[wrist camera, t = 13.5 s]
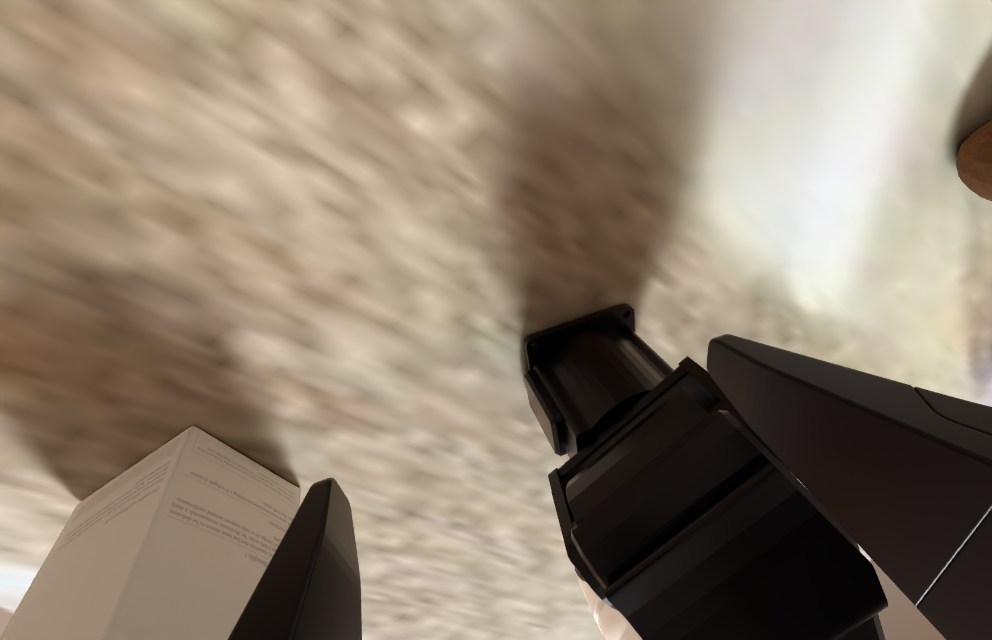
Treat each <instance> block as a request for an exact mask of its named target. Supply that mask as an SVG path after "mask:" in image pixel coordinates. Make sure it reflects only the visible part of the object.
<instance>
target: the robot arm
mask: <svg viewBox="0 0 992 640" xmlns="http://www.w3.org/2000/svg"><path fill="white" fill-rule="evenodd" d="M625 311H626V313H625V314H624V315H623V313H624V312H625ZM534 342H537V343H536V344H535V345H533V346H531V344H532V343H534ZM524 348H525V353H526V358H527V363H528V368H529V371H526V373H525V375H524V378H525V383H526V388H527V393H528V398H529V403H530V406H531V408H532V410H533V412H534V414H535V416H536V418H537V420H538V422H539V423H540V425H541V427H542V429H543V431H544V433H545V435H546V437H547V439H548V441H549V442H550V444H551V446H552V448H553V450H554V452H555V454H558V455H560V456H562V455H565V454H568V456H569V457H570V459H569V460H568V461H567V462H566V463H565V464H564V465H562V466H561V467H560V468H559V469H558V468H556V469H555V470H553V471H552V472H551V473H550V474H549V475H548V478H549V482H550V486H551V490H552V496H553V500H554V503H555V507H556V511H557V515H558V519H559V523H560V527H561V531H562V535H563V539H564V543H565V547H566V551H567V555H568V557H569V559H570V561H571V562H572V564H573V565H574V566H575V571H576V573H577V575H578V576H579V578H580V579H581V580H582V581H584V582H587V584H588V585H589V586H590V587H591V589H592V590H593V591H594V592H595V593H596V594H597V595H598V596H599V598H600V599H601V600H602V601H604V602H605V603H606V604H607V605H608V606H610V607H611V608H613V609H615V610H618V611H619V612H620V613H621V614H622V615H623V616H624V617H625V618H626V620H627V621H628V622H629V623H630V625H631V626H632V627H633V628H634V630H635V631H636V632H637V633H638V635H639V636H640V637H641V638H642V640H885V637H884V633H883V630H882V626H881V623H880V620H879V616H878V613H879V612H880V611H882V610H883V609H885V608H886V607H888V602H887V599H886V596H885V594H884V591H883V589H882V586H881V584H880V581H879V579H878V576H877V574H876V571H875V569H874V567H873V565H872V564H871V563H870V562H869V560H868V559H867V558H866V557H865V556H863V555H862V554H861V553H860V550H859V547H858V545H859V546H860V547H861V548H862V549H863V550H864V551H865V552H866V553H867V554H868V555H869V556H870V557H871V559H872V560H873V561H874V562H875V563H876V564H877V565H878V566H879V567H880V568H881V569H882V570H883V571H884V573H885V574H886V575H887V576H888V577H889V578H890V579H891V580H892V581H893V582H894V583H895V584H896V585H897V586H898V588H899V589H900V590H901V591H902V592H903V593H904V594H905V595H906V596H907V597H908V598H909V600H910V601H911V602H912V603H913V604H914V605H917V609H918V610H919V611H920V612H921V613H922V614H923V615H924V616H925V617H926V618H927V619H928V620H929V622H930V623H931V624H932V625H933V626H934V627H935V628H936V629H937V630H938V631H939V632H940V633H941V634H942V636H943V637H944V638H945V639H946V640H992V407H990V406H986V405H981V404H977V403H973V402H970V401H966V400H962V399H958V398H955V397H951V396H947V395H943V394H940V393H936V392H933V391H929V390H925V389H922V388H918V387H914V388H913V387H912V386H911V385H907V384H904V383H900V382H897V381H893V380H890V379H886V378H883V377H879V376H875V375H872V374H868V373H865V372H861V371H858V370H854V369H851V368H847V367H844V366H840V365H836V364H833V363H829V362H826V361H822V360H819V359H815V358H812V357H808V356H804V355H801V354H797V353H794V352H790V351H787V350H783V349H780V348H776V347H772V346H769V345H765V344H762V343H758V342H755V341H751V340H748V339H744V338H741V337H737V336H733V335H729V334H725V335H721V336H719V337H716V338H713V339H712V340H711V341H710V342H709V347H708V356H707V370H708V372H709V373H708V372H707V371H706V370H705V369H703V368H702V367H701V366H699V365H698V364H697V363H696V362H694V361H693V360H692V359H690V358H689V357H688V356H687V357H686V358H685V359H684V360H682V361H681V362H680V363H679V367H677V368H676V369H675V370H673V369H672V368H671V367H670V366H669V365H668V364H667V363H666V362H665V361H664V360H663V359H662V358H661V357H660V356H659V355H658V354H657V353H656V352H655V351H653V350H652V349H651V348H650V347H649V346H648V345H647V344H646V343H645V342H644V341H643V340H642V339H641V338H640V337H639V336H638V335H637V334H636V333H635V317H634V309H633V308H632V307H631V306H630V305H629V304H626V303H625V304H621V305H618V306H615V307H612V308H609V309H606V310H603V311H600V312H597V313H594V314H591V315H588V316H585V317H582V318H579V319H576V320H573V321H570V322H567V323H565V324H562V325H559V326H556V327H553V328H550V329H547V330H544V331H541V332H538V333H535V334H532V335H530V336H528V337H527V338H526V339H525V341H524ZM797 479H798V480H799V481H800V482H801V483H802V484H803V485H804V486H805V487H806V488H807V489H806V488H805V487H804V486H803V485H802V484H801V483H800V482H799V481H798V480H797ZM857 543H858V544H857ZM227 640H362V620H361V583H360V573H359V565H358V557H357V550H356V542H355V535H354V527H353V520H352V513H351V507H350V503H349V501H348V499H347V497H346V496H345V494H344V492H343V491H342V489H341V488H340V486H339V485H338V483H337V482H336V480H335V479H334V478H327V479H324V480H322V481H319V482H316V483H314V484H313V485H312V486H311V487H310V489H309V491H308V493H307V495H306V496H305V498H304V500H303V502H302V504H301V506H300V507H299V509H298V511H297V513H296V515H295V517H294V518H293V520H292V522H291V524H290V526H289V528H288V529H287V531H286V533H285V535H284V537H283V538H282V540H281V542H280V544H279V546H278V548H277V549H276V551H275V553H274V555H273V557H272V559H271V560H270V562H269V564H268V566H267V568H266V570H265V571H264V573H263V575H262V577H261V579H260V581H259V582H258V584H257V586H256V588H255V590H254V592H253V593H252V595H251V597H250V599H249V601H248V603H247V604H246V606H245V608H244V610H243V612H242V614H241V615H240V617H239V619H238V621H237V623H236V625H235V626H234V628H233V630H232V632H231V634H230V635H229V637H228V639H227Z"/></svg>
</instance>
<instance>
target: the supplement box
mask: <svg viewBox="0 0 992 640" xmlns="http://www.w3.org/2000/svg"><path fill="white" fill-rule="evenodd" d="M300 493H301V489H299V488H298V487H296V486H294V485H293V484H291V483H289V482H287V481H286V480H284V479H282V478H281V477H279V476H277V475H276V474H274V473H272V472H271V471H269V470H267V469H266V468H264V467H262V466H261V465H259V464H257V463H255V462H254V461H252V460H250V459H249V458H247V457H245V456H244V455H242V454H240V453H238V452H237V451H235V450H233V449H232V448H230V447H229V446H227V445H225V444H224V443H222V442H220V441H219V440H217V439H215V438H214V437H212V436H210V435H208V434H207V433H205V432H203V431H202V430H200V429H199V428H197V427H195V426H191V427H190V428H188V429H186V430H185V431H183V432H182V433H180V434H179V435H177V436H176V437H174V438H173V439H171V440H170V441H169V442H167V443H166V444H164V445H163V446H161V447H160V448H158V449H157V450H155V451H154V452H152V453H151V454H149V455H148V456H146V457H145V458H144V459H142V460H141V461H139V462H138V463H136V464H135V465H133V466H132V467H130V468H129V469H127V470H126V471H124V472H123V473H122V474H120V475H119V476H117V477H116V478H114V479H113V480H111V481H110V482H108V483H107V484H106V485H104V486H103V487H101V488H100V489H98V490H97V491H95V492H94V493H92V494H91V495H90V496H88V497H87V498H86V499H84V500H83V501H81V502H80V503H79V504H78V505H77V506H76V508H75V510H74V511H73V513H72V515H71V516H70V518H69V520H68V522H67V524H66V525H65V527H64V529H63V531H62V532H61V534H60V536H59V537H58V539H57V541H56V543H55V544H54V546H53V547H52V549H51V551H50V553H49V554H48V556H47V558H46V560H45V561H44V563H43V565H42V566H41V568H40V570H39V571H38V573H37V575H36V577H35V578H34V580H33V582H32V584H31V586H30V587H29V589H28V591H27V592H26V594H25V596H24V597H23V599H22V601H21V602H20V604H19V606H18V608H17V609H16V611H15V613H14V614H13V616H12V618H11V620H10V621H9V623H8V625H7V626H6V628H5V630H4V632H3V633H2V635H1V637H0V640H227V639H228V637H229V635H230V634H231V632H232V630H233V628H234V626H235V625H236V623H237V621H238V619H239V617H240V615H241V614H242V612H243V610H244V608H245V606H246V604H247V603H248V601H249V599H250V597H251V595H252V593H253V592H254V590H255V588H256V586H257V584H258V582H259V581H260V579H261V577H262V575H263V573H264V571H265V570H266V568H267V566H268V564H269V562H270V560H271V559H272V557H273V555H274V553H275V551H276V549H277V548H278V546H279V544H280V542H281V540H282V538H283V537H284V535H285V533H286V531H287V529H288V528H289V526H290V524H291V522H292V520H293V518H294V517H295V515H296V513H297V511H298V509H299V504H300Z"/></svg>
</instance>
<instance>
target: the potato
mask: <svg viewBox="0 0 992 640" xmlns="http://www.w3.org/2000/svg"><path fill="white" fill-rule="evenodd" d="M957 170H958V175H959V177H960V179H961V180H962V182H963V183H964V184H965V185H966V186H967V187H968V188H969V189H970V190H972V191H973V192H975V193H976V194H977V195H979V196H980V197H982V198H985V199H987V200H990V201H992V120H990V121H989V122H987V123H986V124H984V125H983V126H981V127H980V128H978V129H977V130H976V131H974V132H973V133H972V134H971V135H970V136H969V137H968V138H967V139H966V140H965V141H964V142H963V143H962V145H961V147H960V149H959V152H958V154H957Z"/></svg>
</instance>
